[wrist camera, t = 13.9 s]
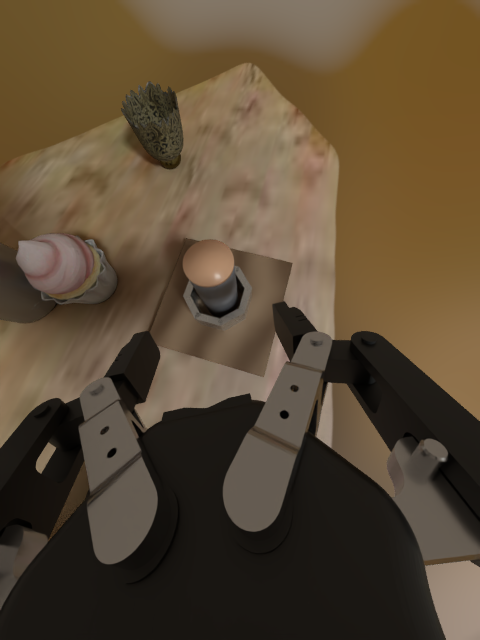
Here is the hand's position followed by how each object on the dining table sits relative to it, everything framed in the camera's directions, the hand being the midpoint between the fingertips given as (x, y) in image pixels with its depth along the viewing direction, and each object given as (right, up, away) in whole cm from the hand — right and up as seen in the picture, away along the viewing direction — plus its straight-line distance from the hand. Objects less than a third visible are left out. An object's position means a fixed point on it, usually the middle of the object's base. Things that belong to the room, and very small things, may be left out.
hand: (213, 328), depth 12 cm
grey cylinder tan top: (-1, +3, +14) cm, 14 cm away
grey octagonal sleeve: (-1, +3, +14) cm, 14 cm away
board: (-1, +3, +15) cm, 15 cm away
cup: (-10, +28, +21) cm, 36 cm away
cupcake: (-20, +6, +16) cm, 26 cm away
